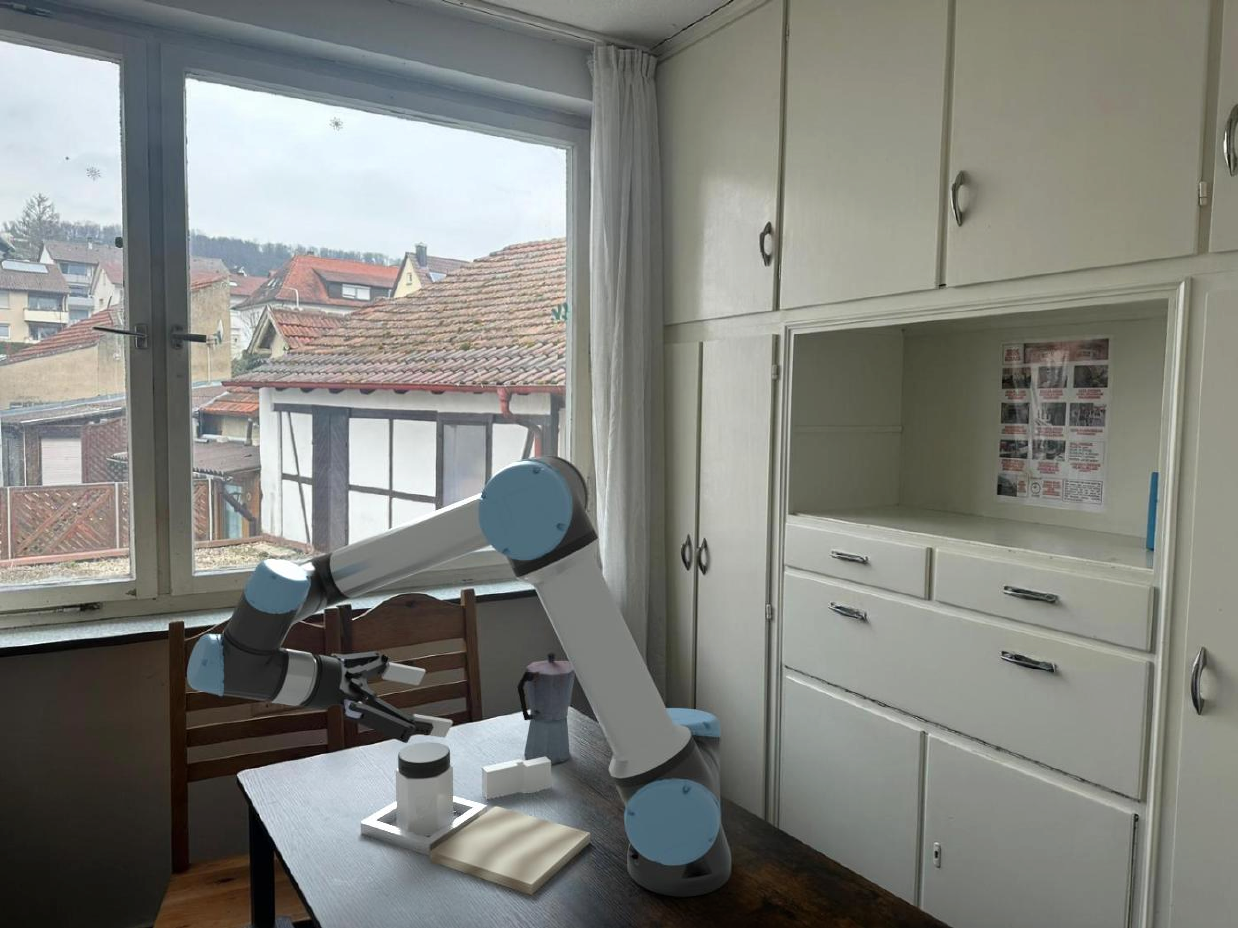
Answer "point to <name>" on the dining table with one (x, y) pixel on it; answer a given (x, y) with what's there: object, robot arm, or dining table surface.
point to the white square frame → (383, 831)
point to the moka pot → (547, 708)
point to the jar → (424, 788)
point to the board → (511, 849)
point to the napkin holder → (516, 777)
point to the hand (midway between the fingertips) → (434, 701)
